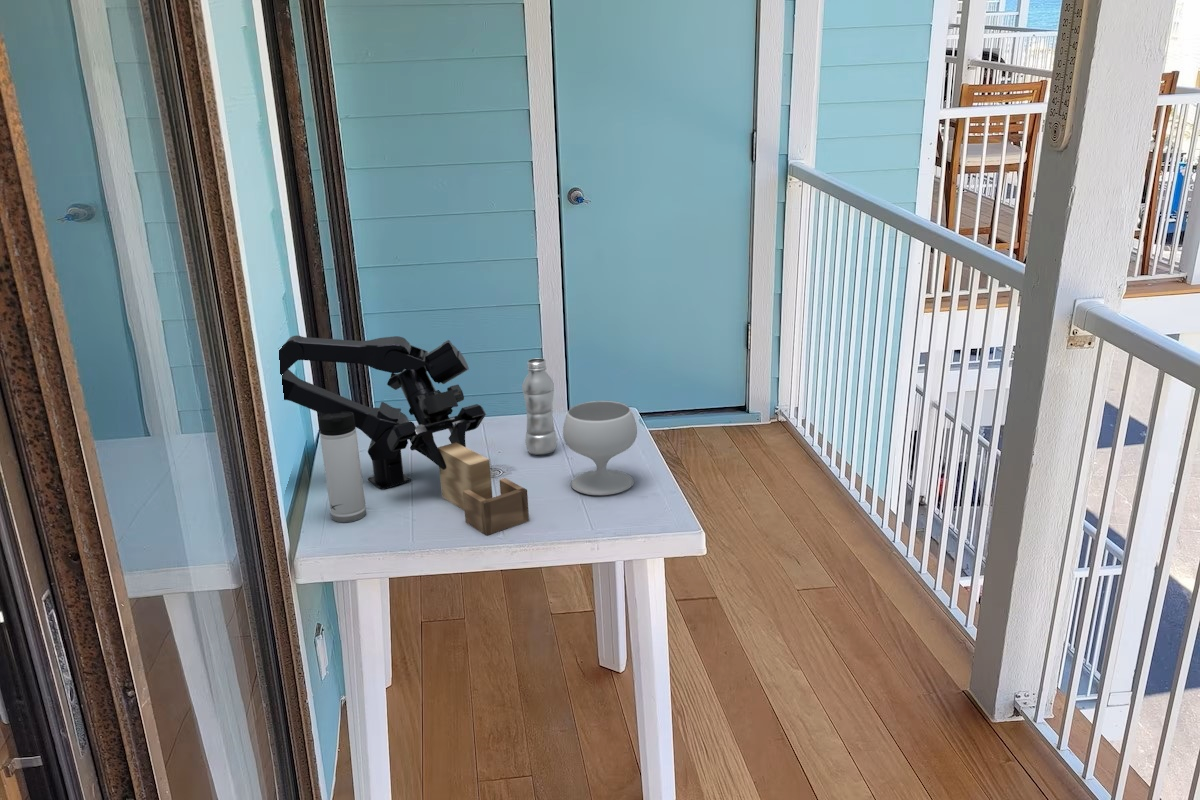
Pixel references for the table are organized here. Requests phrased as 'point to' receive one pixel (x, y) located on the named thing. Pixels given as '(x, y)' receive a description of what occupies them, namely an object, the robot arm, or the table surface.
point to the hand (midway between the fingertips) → (455, 465)
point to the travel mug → (342, 466)
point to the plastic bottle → (539, 408)
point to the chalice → (600, 443)
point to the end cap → (497, 508)
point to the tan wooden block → (464, 474)
